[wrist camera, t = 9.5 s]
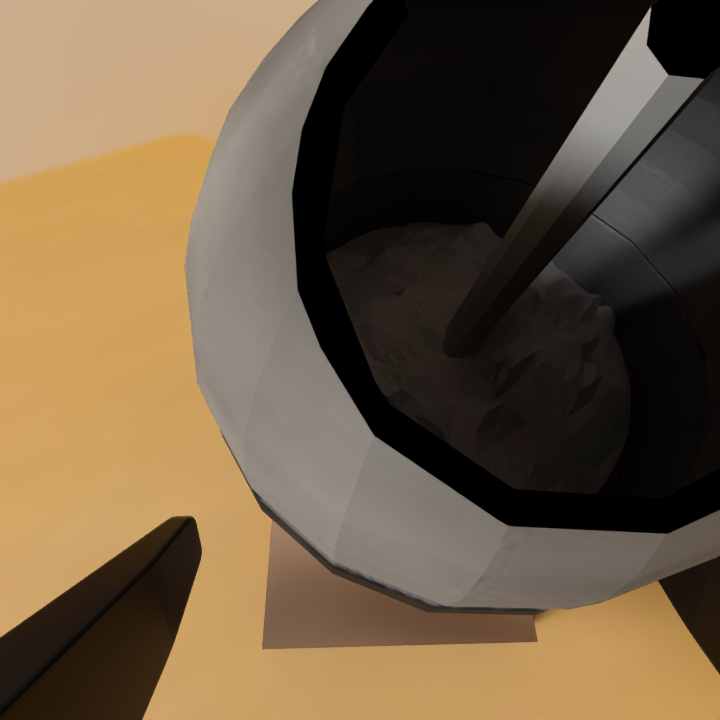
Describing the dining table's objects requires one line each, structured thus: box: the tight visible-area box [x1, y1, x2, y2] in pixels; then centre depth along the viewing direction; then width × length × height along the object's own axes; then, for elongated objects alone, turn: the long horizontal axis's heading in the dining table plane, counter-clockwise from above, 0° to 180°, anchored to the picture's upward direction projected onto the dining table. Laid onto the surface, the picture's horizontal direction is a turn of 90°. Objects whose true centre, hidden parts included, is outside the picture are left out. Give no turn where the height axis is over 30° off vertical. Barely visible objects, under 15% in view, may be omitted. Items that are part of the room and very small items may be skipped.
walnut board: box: [262, 520, 538, 649], centre depth 17 cm, size 13×10×2 cm
